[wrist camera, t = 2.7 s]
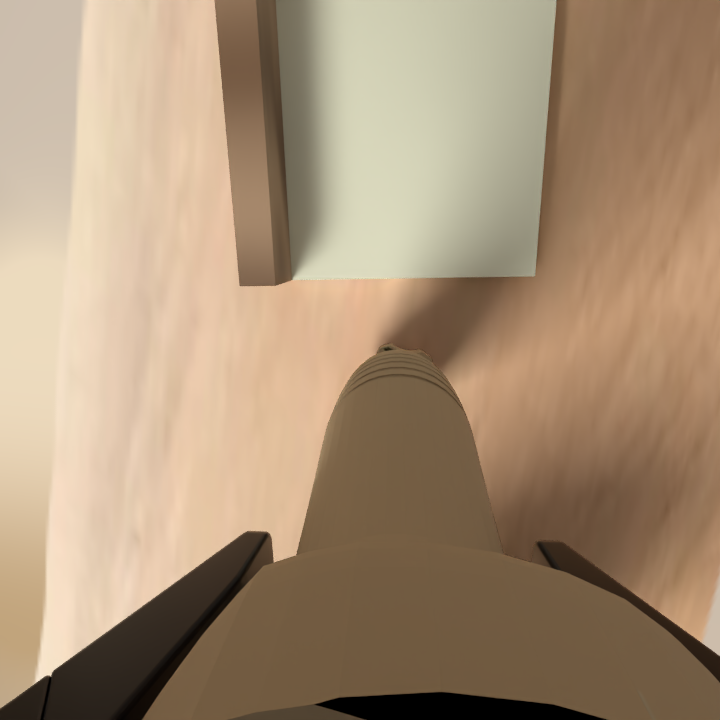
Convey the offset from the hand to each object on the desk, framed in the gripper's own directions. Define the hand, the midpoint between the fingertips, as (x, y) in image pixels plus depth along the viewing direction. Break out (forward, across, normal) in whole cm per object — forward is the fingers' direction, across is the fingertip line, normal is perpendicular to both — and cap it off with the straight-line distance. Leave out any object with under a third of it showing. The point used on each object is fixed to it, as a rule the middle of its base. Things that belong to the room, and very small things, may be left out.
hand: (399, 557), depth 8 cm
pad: (+11, 0, -10) cm, 15 cm away
